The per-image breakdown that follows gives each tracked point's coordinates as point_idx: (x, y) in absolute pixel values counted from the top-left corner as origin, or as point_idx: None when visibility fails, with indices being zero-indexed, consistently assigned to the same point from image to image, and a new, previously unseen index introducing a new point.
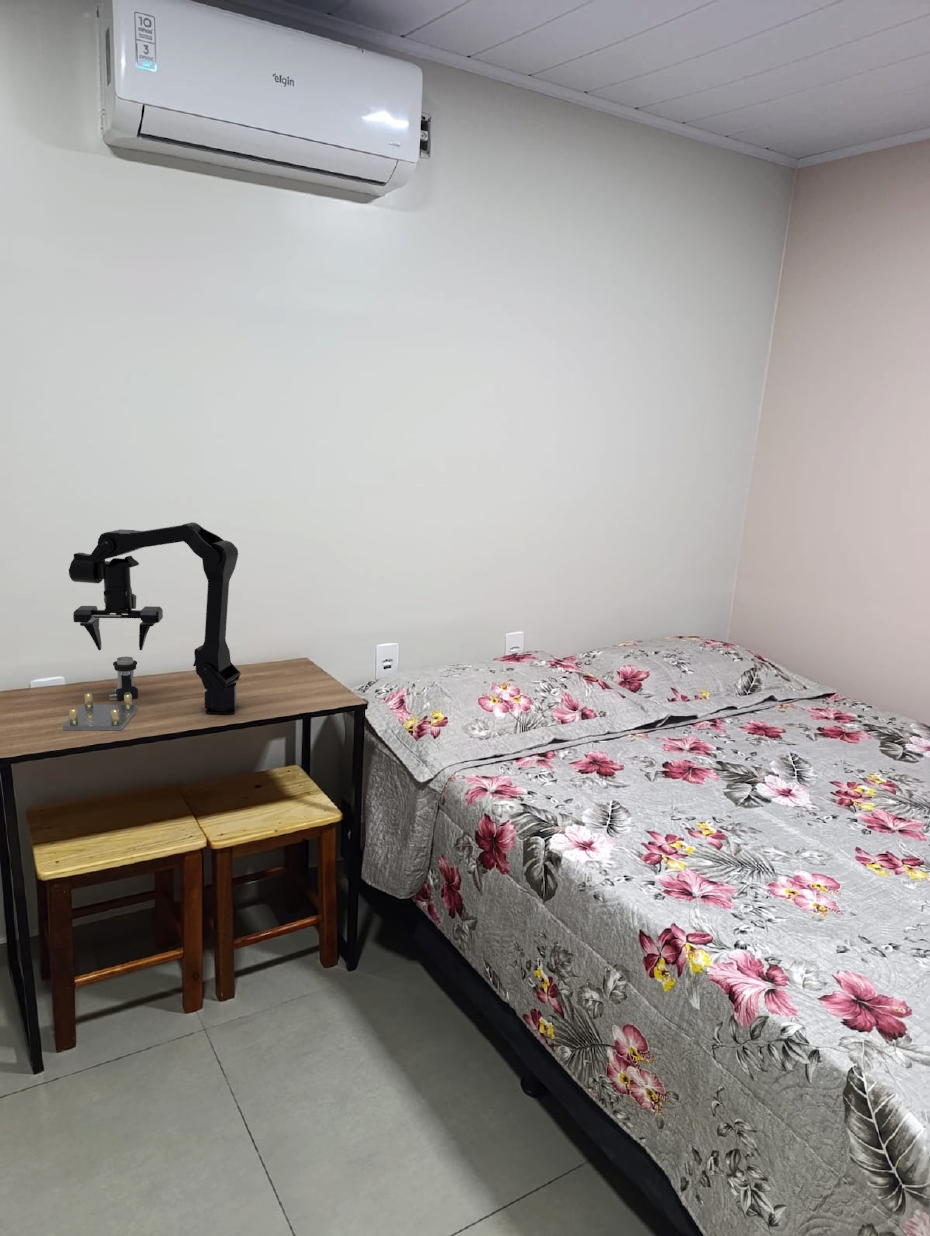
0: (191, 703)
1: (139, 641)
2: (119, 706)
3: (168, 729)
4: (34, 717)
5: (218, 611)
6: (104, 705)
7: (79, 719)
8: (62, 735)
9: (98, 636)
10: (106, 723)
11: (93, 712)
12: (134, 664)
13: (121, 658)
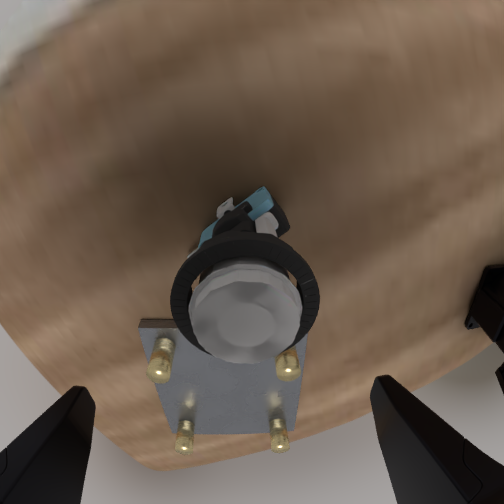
0: (449, 252)
1: (389, 469)
2: None
3: None
4: (71, 368)
5: None
6: None
7: (187, 412)
8: None
9: (61, 485)
10: (258, 425)
11: (198, 379)
12: (309, 328)
13: (221, 326)
